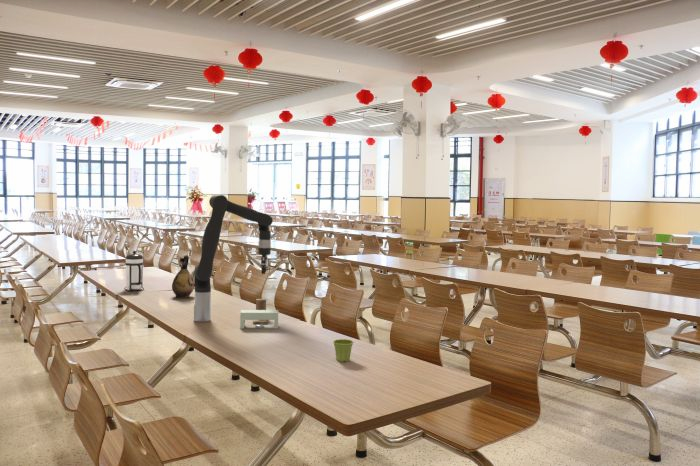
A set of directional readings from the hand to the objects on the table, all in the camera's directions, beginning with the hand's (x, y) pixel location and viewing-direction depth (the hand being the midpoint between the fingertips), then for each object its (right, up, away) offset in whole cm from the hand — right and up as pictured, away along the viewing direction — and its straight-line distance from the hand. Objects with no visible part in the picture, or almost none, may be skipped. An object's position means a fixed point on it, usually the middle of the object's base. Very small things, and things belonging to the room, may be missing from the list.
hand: (263, 272), depth 354 cm
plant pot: (+50, -34, -90) cm, 109 cm away
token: (+2, -29, -28) cm, 41 cm away
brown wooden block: (0, -28, -14) cm, 31 cm away
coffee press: (-109, -19, +78) cm, 136 cm away
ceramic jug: (-66, -22, +57) cm, 90 cm away
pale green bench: (+2, -29, -30) cm, 41 cm away
